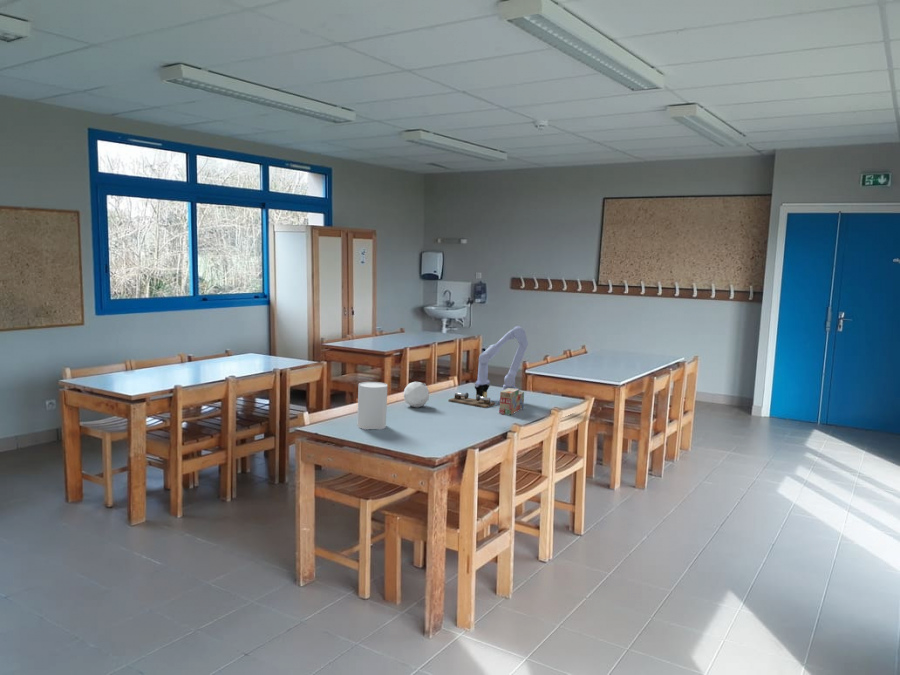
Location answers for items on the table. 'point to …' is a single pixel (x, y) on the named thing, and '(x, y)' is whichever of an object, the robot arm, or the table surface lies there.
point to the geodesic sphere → (416, 394)
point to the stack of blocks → (511, 401)
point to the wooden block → (483, 394)
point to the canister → (372, 405)
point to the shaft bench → (472, 402)
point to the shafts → (476, 397)
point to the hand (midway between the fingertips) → (481, 397)
